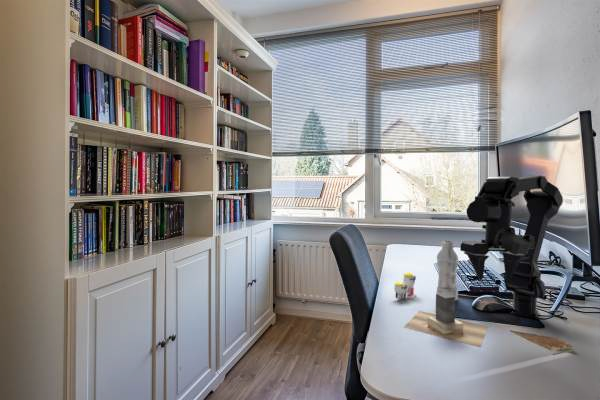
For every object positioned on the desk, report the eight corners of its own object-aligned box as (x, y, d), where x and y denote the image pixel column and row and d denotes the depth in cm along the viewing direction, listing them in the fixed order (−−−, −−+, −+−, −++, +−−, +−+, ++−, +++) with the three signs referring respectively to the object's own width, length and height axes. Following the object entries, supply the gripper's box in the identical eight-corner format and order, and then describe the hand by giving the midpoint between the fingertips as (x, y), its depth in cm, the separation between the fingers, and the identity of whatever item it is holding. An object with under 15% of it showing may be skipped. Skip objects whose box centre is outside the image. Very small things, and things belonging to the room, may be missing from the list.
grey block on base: (445, 322, 88) (446, 290, 87) (463, 332, 82) (463, 297, 81) (427, 325, 86) (428, 292, 85) (444, 335, 80) (444, 300, 80)
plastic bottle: (462, 303, 104) (463, 242, 103) (446, 306, 102) (447, 244, 101) (446, 297, 110) (447, 239, 109) (431, 299, 108) (432, 240, 107)
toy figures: (403, 304, 103) (403, 279, 103) (391, 301, 107) (391, 276, 106) (420, 295, 112) (420, 272, 112) (408, 292, 115) (408, 270, 115)
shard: (509, 335, 83) (509, 329, 82) (532, 332, 85) (532, 325, 84) (552, 357, 72) (553, 349, 72) (577, 352, 74) (577, 345, 74)
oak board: (419, 313, 96) (419, 310, 96) (488, 328, 85) (488, 326, 85) (403, 330, 85) (403, 327, 85) (480, 350, 74) (480, 347, 74)
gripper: (493, 224, 77) (489, 288, 77) (554, 226, 81) (550, 287, 82) (460, 220, 88) (457, 276, 88) (516, 222, 92) (512, 276, 92)
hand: (494, 279), depth 87 cm, fingers open, 9 cm apart
